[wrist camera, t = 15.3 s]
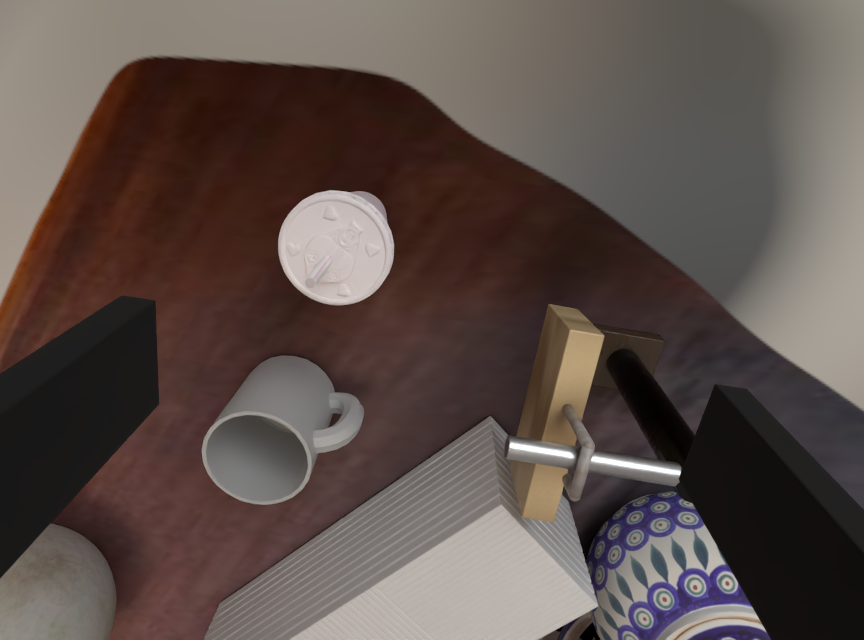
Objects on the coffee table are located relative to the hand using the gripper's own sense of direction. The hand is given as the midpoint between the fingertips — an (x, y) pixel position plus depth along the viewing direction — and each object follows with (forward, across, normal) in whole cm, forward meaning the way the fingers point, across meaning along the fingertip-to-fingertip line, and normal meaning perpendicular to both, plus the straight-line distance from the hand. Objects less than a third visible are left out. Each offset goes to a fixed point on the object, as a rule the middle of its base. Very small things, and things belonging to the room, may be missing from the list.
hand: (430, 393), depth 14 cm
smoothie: (+28, -6, -3) cm, 29 cm away
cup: (+28, -8, -17) cm, 34 cm away
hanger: (+22, +9, -11) cm, 27 cm away
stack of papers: (+28, 0, -32) cm, 43 cm away
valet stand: (+28, +11, -10) cm, 32 cm away
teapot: (+28, +23, -26) cm, 45 cm away
